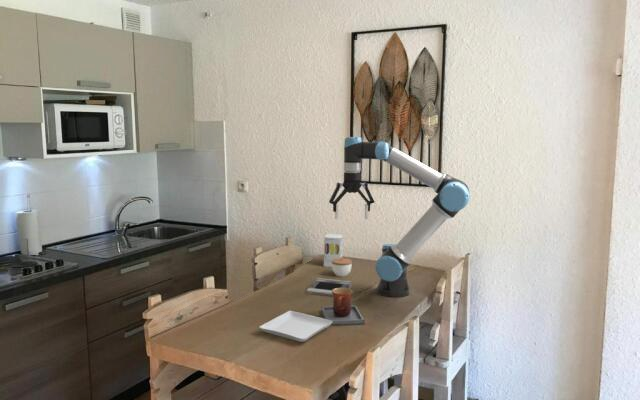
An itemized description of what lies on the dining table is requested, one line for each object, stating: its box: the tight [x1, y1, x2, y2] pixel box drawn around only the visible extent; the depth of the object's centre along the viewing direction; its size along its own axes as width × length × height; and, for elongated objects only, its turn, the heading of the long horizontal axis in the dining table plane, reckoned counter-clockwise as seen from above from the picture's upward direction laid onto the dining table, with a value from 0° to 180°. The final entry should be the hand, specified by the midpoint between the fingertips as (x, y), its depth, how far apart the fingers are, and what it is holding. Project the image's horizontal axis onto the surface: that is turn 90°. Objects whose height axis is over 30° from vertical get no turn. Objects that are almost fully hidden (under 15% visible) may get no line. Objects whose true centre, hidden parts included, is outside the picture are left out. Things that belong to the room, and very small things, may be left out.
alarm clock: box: [306, 277, 352, 297], centre depth 262 cm, size 17×5×16 cm
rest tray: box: [321, 305, 365, 327], centre depth 226 cm, size 15×17×2 cm
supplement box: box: [323, 233, 344, 268], centre depth 306 cm, size 10×9×17 cm
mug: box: [332, 288, 353, 317], centre depth 226 cm, size 12×9×10 cm
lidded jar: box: [331, 256, 353, 277], centre depth 287 cm, size 11×11×9 cm
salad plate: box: [259, 310, 332, 343], centre depth 212 cm, size 21×21×3 cm
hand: (351, 218), depth 247 cm, fingers open, 13 cm apart
